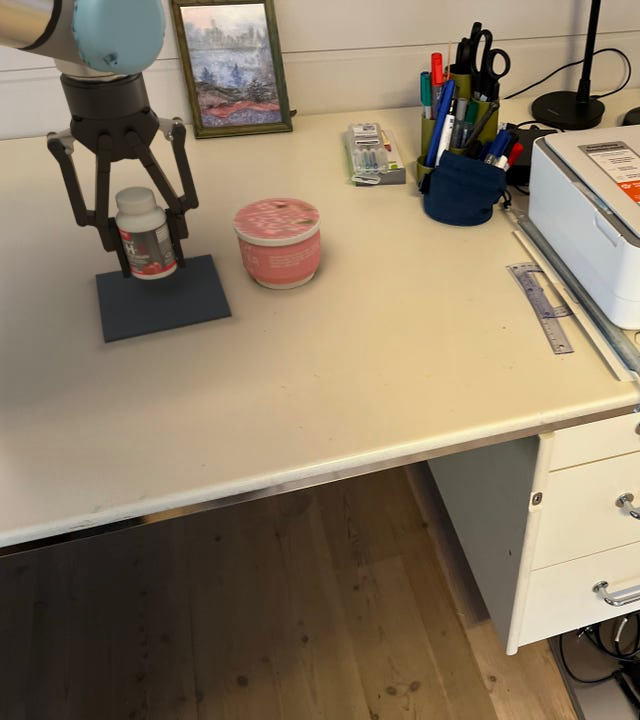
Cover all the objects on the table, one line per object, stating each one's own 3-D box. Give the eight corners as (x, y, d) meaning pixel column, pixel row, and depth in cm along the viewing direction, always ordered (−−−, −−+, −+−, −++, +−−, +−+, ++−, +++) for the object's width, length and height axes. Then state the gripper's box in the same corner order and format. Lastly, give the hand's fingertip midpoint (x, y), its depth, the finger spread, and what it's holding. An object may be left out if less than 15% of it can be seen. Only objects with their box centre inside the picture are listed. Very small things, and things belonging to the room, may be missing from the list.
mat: (104, 342, 85) (103, 340, 84) (96, 277, 94) (95, 274, 94) (231, 316, 89) (231, 313, 89) (211, 256, 99) (210, 253, 99)
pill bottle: (122, 279, 87) (99, 203, 81) (141, 254, 91) (120, 180, 85) (168, 283, 87) (148, 208, 81) (185, 258, 91) (167, 184, 85)
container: (323, 295, 94) (317, 239, 88) (236, 296, 92) (226, 240, 87) (328, 250, 101) (323, 196, 96) (248, 250, 100) (239, 196, 95)
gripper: (191, 47, 80) (227, 237, 95) (-6, 65, 73) (67, 265, 88) (203, 72, 75) (239, 268, 90) (-7, 93, 68) (70, 300, 83)
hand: (154, 266), depth 89 cm, fingers closed on pill bottle, 5 cm apart
